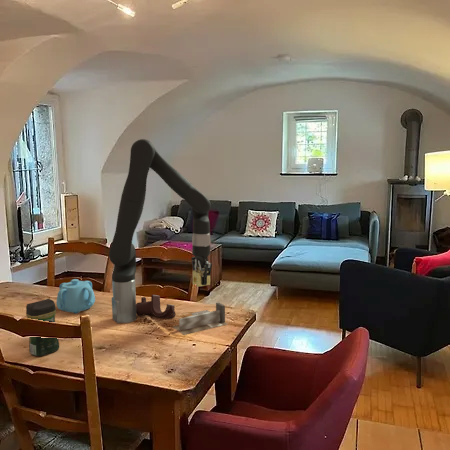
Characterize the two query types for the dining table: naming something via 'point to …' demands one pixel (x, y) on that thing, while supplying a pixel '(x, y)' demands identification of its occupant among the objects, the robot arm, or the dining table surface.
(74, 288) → the decorative pot
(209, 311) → the gray metal plate
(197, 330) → the rail
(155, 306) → the bracket
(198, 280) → the block with knob
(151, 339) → the dining table surface
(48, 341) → the coffee jar
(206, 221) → the robot arm
